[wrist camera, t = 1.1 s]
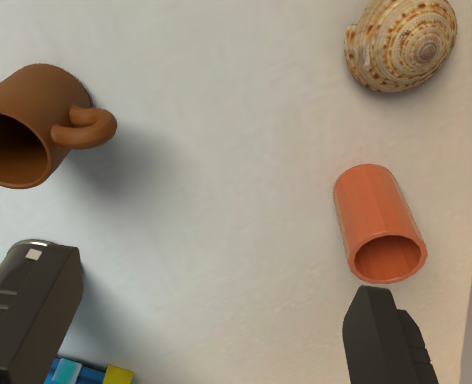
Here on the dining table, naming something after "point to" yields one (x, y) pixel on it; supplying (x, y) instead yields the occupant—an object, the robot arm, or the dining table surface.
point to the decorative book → (85, 374)
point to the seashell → (400, 43)
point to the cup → (377, 226)
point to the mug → (45, 124)
